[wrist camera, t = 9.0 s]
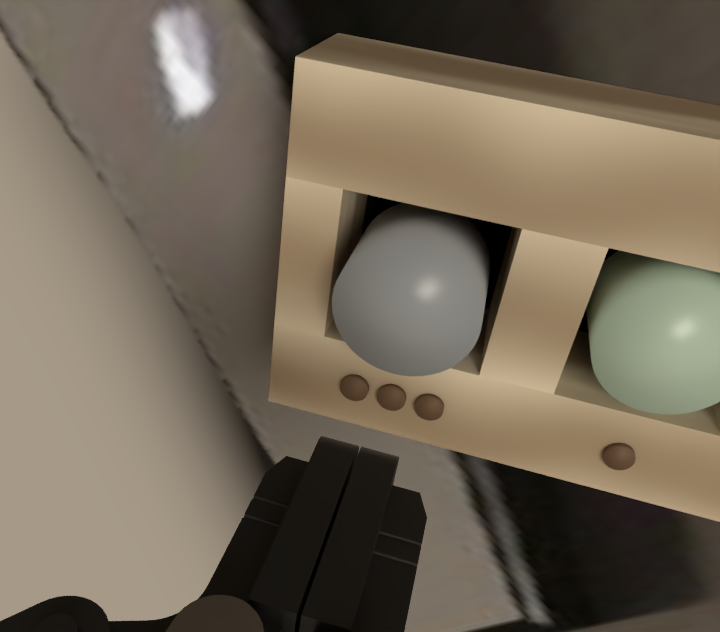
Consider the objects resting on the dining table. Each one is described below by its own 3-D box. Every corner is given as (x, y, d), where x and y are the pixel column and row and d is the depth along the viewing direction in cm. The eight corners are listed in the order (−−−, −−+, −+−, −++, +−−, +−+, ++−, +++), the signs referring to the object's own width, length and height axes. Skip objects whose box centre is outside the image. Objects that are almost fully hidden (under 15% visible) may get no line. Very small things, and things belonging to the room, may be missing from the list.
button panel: (338, 32, 20) (293, 57, 16) (1173, 192, 17) (1339, 264, 13) (304, 337, 25) (266, 404, 22) (918, 493, 23) (987, 598, 19)
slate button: (367, 187, 19) (341, 227, 17) (505, 217, 19) (499, 264, 16) (350, 304, 21) (324, 356, 19) (473, 334, 21) (463, 391, 18)
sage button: (610, 225, 19) (620, 271, 17) (754, 256, 19) (786, 308, 16) (568, 338, 21) (571, 393, 19) (696, 368, 21) (717, 429, 18)
